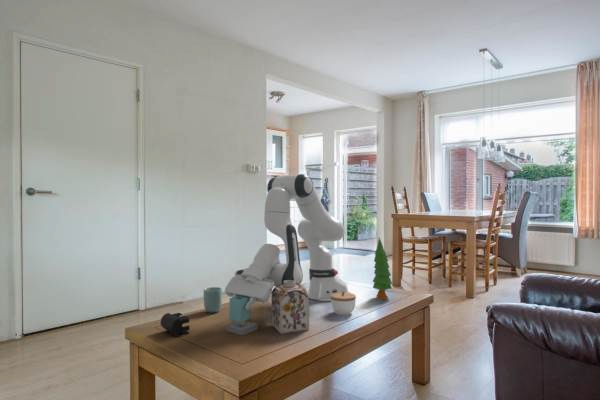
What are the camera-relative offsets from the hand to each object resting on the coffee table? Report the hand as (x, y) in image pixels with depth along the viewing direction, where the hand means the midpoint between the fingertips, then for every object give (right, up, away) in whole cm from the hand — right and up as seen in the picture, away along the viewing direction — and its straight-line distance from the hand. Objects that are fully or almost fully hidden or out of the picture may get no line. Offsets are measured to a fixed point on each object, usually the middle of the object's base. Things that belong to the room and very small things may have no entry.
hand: (238, 307), depth 150 cm
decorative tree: (+64, -8, +45) cm, 79 cm away
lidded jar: (+42, -8, +21) cm, 47 cm away
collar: (0, -4, +1) cm, 4 cm away
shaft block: (+1, -9, 0) cm, 9 cm away
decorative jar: (+19, -9, +3) cm, 21 cm away
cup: (-15, -9, +26) cm, 31 cm away
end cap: (-24, -9, -1) cm, 25 cm away
